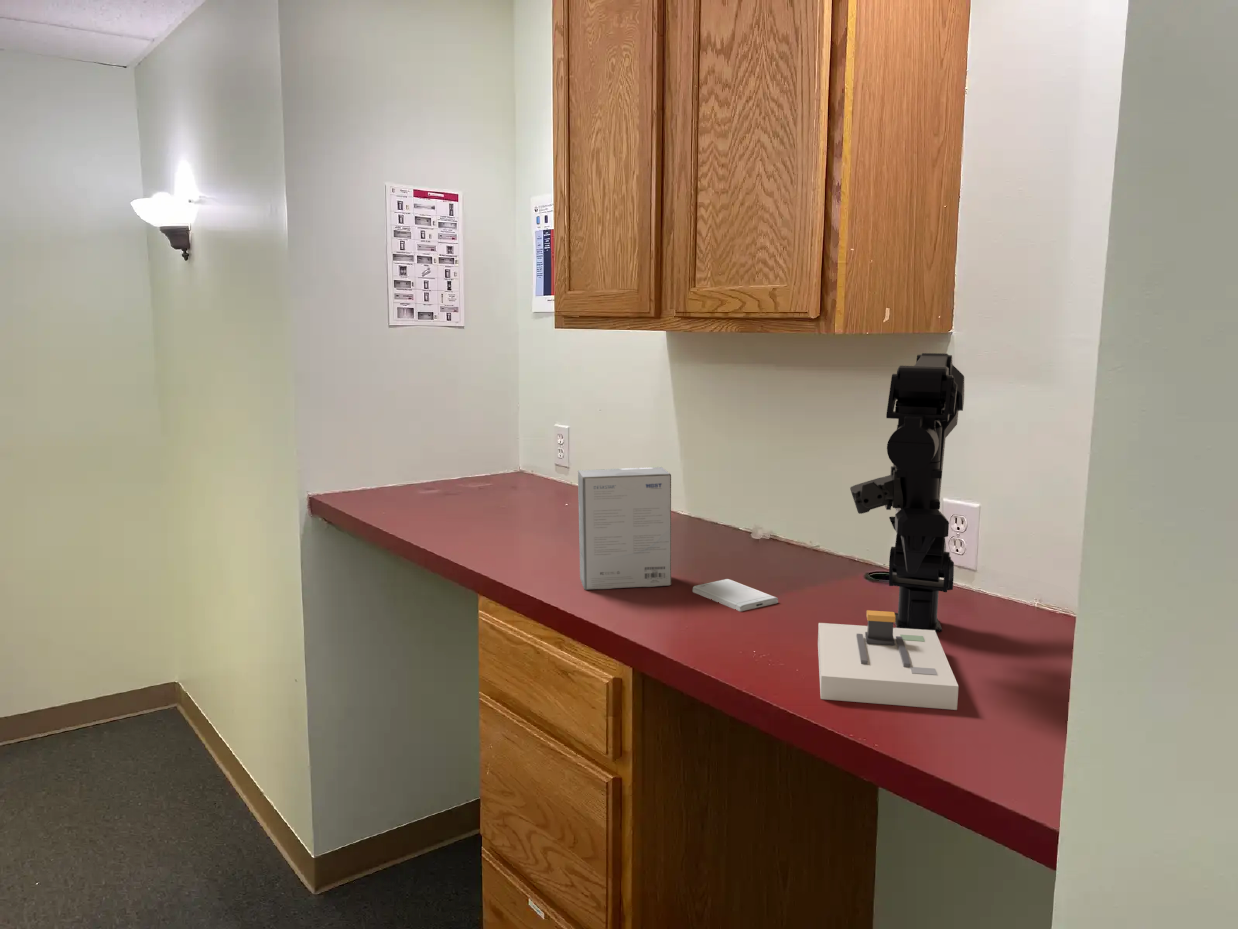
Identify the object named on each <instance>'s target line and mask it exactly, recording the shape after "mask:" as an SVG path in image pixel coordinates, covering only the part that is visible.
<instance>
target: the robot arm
mask: <svg viewBox="0 0 1238 929" xmlns="http://www.w3.org/2000/svg"><path fill="white" fill-rule="evenodd" d="M964 403H965V376H964V374H963V373H962V372H961V371H960V370H959V369H958V368H956V366H955V365H954V364H953V355H951V354H948V353H945V352H943V353H937V352H935V353H934V352H932V353H931V352H922V353H921V354H917V356H916V362H915V363H914V365H899V366H898V367H897V369H896V373H892V375H891V379H890V385H889V392H888V401H887V406H886V407H887V408H886V413H885V415H886V419H890V420H891V419H893V420H895V419H897V421H898V422H897V425H896V429H895V431H894V432H892V434H891V435H890V437H889V439H888V441H887V444H886V451H887V456H888V458H889V460H890V463H892V466H890V475H889V474H888V475H886V476H882V477H877V478H874V479H870V480H867V481H864V482H861V483H857V484H855V485H854V484H853V485H852V486H850V487H849V488H850V493H851V495H852V498H853V501H854V505H855V508H856V511H857V514H861V515H862V514H866V513H869V512H870V511H871V510H875V509H878V508H881V507H885V509H886V511H891V510H892V508H893V509H894V510H895V515H894V516H889V517H888V518H889V521H890V523H891V526H892V529H894V531H895V532H896V536H895V545H894V546H890V551H889V559H888V560H889V561H888V562H889V563H888V586H889V587H899V588H898V602H897V603H898V604H897V607H898V608H897V612H894V613H895V622H894V624H895V628H906V629H921V630H935V632H936V633H940V632H942V631H943V628H942V625H941V623H940V620H939V619H938V606H939V592H942V593H948V591H953V590H954V579H955V578H954V575H955V563H954V561H953V560H952V556H951V553H950V551H947V545H946V544H947V543H946V542H947V541H946V538H947V537H949V528H950V527H949V526H950V522H949V520H948V519H947V518H946V516H945V515H944V514H943V513H942V512H941V511H940V510H941V509H940V508H941V499H940V498H941V492H942V491H941V488H942V477H943V467H944V456H945V448H946V439H947V437H948V436H949V435H950V433H951V432H952V431H953V430H954V429H955V428H956V427H957V425H958V420H959V419H958V418H959V412H960V411H964ZM941 578H942V579H941Z"/></svg>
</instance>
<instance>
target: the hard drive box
mask: <svg viewBox="0 0 1238 929" xmlns="http://www.w3.org/2000/svg"><path fill="white" fill-rule="evenodd" d="M577 486H578V488H577V489H578V490H577V491H578V495H577V496H578V497H577V498H578V533H579V534H578V535H579V536H578V538H579V540H578V541H579V542H578V544H579V578H580V583H581V585H582V587H583V589H584V590H586V591H587V590H611V589H623V588H651V587H665V586H666V587H668V586H671V585H672V474H671V473H670V472H669V471H667V470H666V469H665V468H664V467H662V466H657V467H654V466H653V467H652V466H650V467H649V466H648V467H626V468H625V467H622V468H607V469H585V470H583V469H582V470H581V469H580V470H577Z"/></svg>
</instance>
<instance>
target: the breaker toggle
mask: <svg viewBox="0 0 1238 929" xmlns="http://www.w3.org/2000/svg"><path fill="white" fill-rule="evenodd" d="M895 613H896V612H894V611H885V610H884V611H882V610H869V609H867V610H866V614H865V616H866V620H867V621H866V622H867V626H868V628H867V632H865V637H866V642H867V643H868V644H882V645H895V641H894V638H893V628H894V623H895Z"/></svg>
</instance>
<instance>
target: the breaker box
mask: <svg viewBox="0 0 1238 929" xmlns="http://www.w3.org/2000/svg"><path fill="white" fill-rule="evenodd" d="M817 628H818V632H817V650H818V651H817V654H818V657H817V658H818V671H819V672H818V674H819V675H818V676H819V692H820V693H819V695H820V700H826V701H827V700H828V701H842V702H854V703H855V702H856V703H865V704H866V703H868V704H876V705H877V704H878V705H890V706H891V705H893V706H903V707H904V706H905V707H914V708H916V707H917V708H925V709H926V708H929V709H940V710H941V709H942V710H952V711H953V710H954V711H957V710H958V701H959V700H958V698H959V684H958V682H957V680H956V677H955V674H954V673H953V670H952V668H951V666H950V662H949V661H948V658H947V656H946V654H945V651H944V648H943V645H942V644H941V641H940V639H939V637H938V634H937V632H935V630H921V629H906V628H896V627H893V638H894V641H895V645H882V644H868V643H867V642H866V637H865V632H867V628H868V625H858V624H857V625H856V624H843V623H841V624H840V623H828V622H818V627H817Z"/></svg>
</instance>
